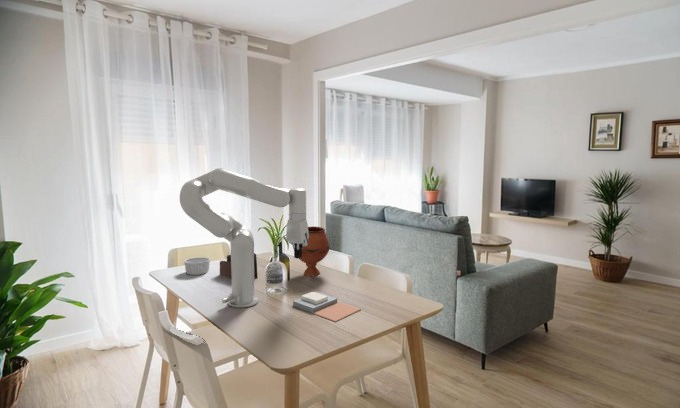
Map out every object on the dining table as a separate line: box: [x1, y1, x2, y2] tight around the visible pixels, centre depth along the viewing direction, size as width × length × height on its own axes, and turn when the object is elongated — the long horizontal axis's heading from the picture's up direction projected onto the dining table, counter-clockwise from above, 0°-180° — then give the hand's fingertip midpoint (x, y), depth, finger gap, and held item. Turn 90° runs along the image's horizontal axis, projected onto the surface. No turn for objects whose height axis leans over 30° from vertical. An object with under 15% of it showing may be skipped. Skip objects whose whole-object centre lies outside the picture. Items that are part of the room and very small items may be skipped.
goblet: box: [298, 226, 330, 277], centre depth 209 cm, size 19×19×25 cm
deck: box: [292, 291, 338, 314], centre depth 166 cm, size 15×12×2 cm
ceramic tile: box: [300, 291, 329, 304], centre depth 166 cm, size 7×9×2 cm
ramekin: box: [183, 256, 211, 276], centre depth 211 cm, size 13×13×7 cm
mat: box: [312, 301, 362, 323], centre depth 158 cm, size 16×12×1 cm
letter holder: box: [219, 252, 259, 280], centre depth 204 cm, size 10×20×14 cm, turn 50°
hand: (298, 257), depth 171 cm, fingers closed
